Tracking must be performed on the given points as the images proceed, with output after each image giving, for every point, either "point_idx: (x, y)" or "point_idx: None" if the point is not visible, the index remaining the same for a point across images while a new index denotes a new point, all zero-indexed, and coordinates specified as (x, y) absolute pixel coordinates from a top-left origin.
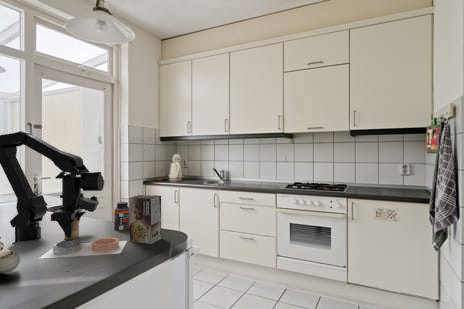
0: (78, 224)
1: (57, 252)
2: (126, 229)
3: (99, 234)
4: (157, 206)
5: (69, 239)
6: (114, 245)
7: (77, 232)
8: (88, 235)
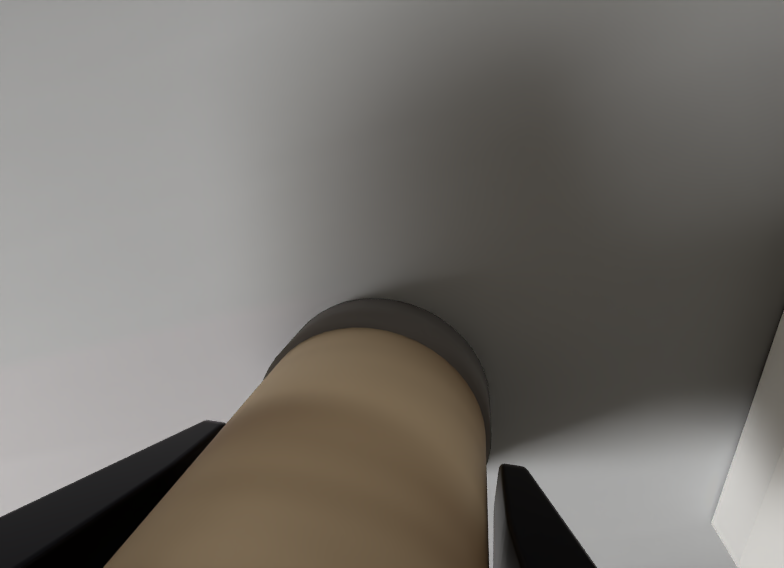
0: (254, 554)
1: None
2: None
3: (58, 13)
4: None
5: (487, 445)
6: None
7: (388, 397)
8: (120, 213)
